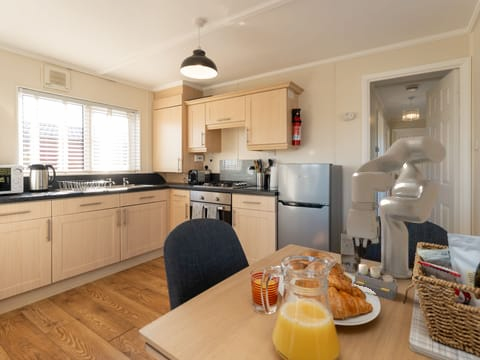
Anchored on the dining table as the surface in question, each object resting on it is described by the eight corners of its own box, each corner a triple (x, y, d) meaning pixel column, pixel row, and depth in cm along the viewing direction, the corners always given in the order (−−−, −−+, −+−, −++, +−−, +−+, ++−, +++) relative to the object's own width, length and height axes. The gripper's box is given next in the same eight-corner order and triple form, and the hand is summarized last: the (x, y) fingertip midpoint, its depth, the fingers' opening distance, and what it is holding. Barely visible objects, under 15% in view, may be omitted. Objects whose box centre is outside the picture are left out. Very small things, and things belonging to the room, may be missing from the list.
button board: (360, 282, 98) (360, 269, 98) (397, 292, 90) (397, 278, 90) (353, 288, 93) (353, 275, 93) (392, 300, 85) (392, 285, 85)
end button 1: (384, 283, 91) (384, 274, 91) (393, 286, 89) (393, 276, 89) (381, 286, 89) (381, 276, 88) (391, 289, 87) (391, 279, 86)
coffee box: (356, 273, 106) (356, 235, 106) (340, 270, 110) (340, 233, 110) (361, 267, 114) (361, 230, 113) (346, 264, 118) (346, 229, 117)
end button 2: (360, 272, 96) (360, 263, 96) (369, 274, 94) (369, 265, 94) (357, 274, 94) (357, 265, 94) (366, 277, 92) (366, 267, 92)
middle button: (372, 275, 93) (371, 265, 93) (381, 277, 91) (381, 267, 91) (369, 277, 91) (369, 268, 91) (378, 280, 89) (378, 270, 89)
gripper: (388, 207, 91) (388, 259, 91) (346, 204, 101) (345, 250, 101) (382, 209, 85) (381, 264, 86) (338, 205, 96) (337, 254, 96)
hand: (362, 256), depth 93 cm, fingers closed
